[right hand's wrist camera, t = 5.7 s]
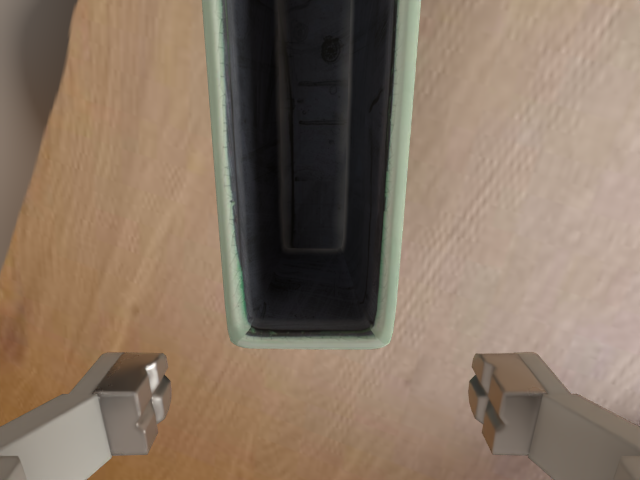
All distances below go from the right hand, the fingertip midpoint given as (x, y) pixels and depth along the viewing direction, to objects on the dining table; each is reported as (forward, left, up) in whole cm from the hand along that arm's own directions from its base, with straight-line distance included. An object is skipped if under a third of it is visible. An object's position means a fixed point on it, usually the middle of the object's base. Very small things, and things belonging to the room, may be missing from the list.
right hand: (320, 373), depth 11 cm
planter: (+11, 0, -13) cm, 17 cm away
